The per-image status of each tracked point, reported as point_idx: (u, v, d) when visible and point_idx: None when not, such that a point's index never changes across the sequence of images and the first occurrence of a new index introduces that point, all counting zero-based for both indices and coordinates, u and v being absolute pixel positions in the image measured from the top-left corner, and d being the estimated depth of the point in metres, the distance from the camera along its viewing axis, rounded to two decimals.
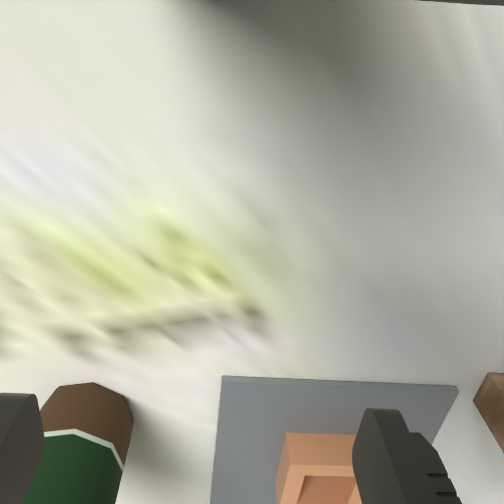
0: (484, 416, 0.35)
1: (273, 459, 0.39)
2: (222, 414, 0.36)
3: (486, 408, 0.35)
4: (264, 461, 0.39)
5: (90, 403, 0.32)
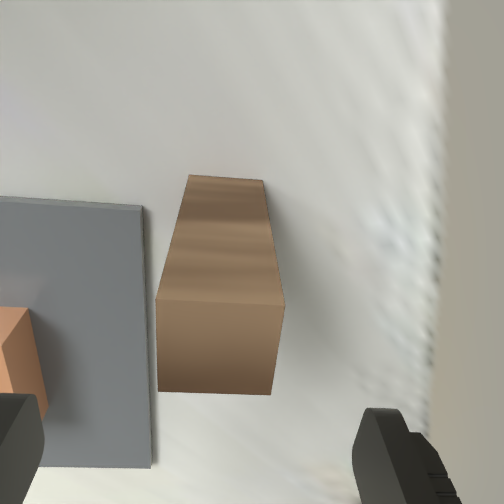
0: None
1: None
2: None
3: None
4: None
5: None
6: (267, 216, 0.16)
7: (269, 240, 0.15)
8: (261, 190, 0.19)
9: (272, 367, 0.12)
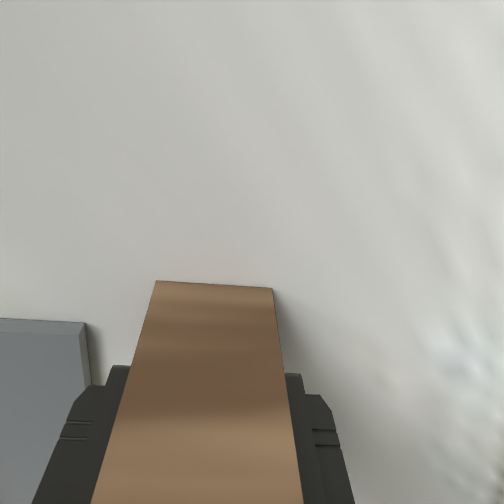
0: None
1: None
2: None
3: None
4: None
5: None
6: (285, 394, 0.09)
7: (293, 484, 0.07)
8: (271, 315, 0.12)
9: None
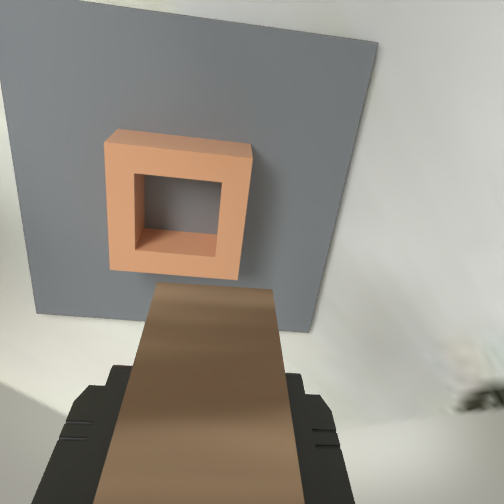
0: None
1: None
2: (5, 76, 0.22)
3: None
4: (96, 198, 0.26)
5: None
6: (285, 395, 0.09)
7: (294, 485, 0.07)
8: (272, 316, 0.12)
9: None
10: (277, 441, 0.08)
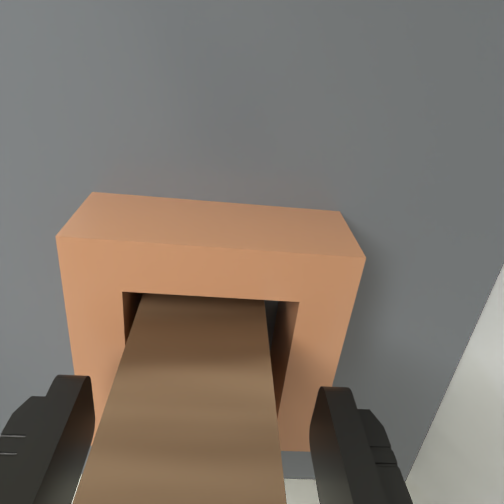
0: None
1: None
2: None
3: None
4: (60, 308, 0.15)
5: None
6: (267, 347, 0.10)
7: (270, 414, 0.09)
8: None
9: None
10: (257, 382, 0.09)
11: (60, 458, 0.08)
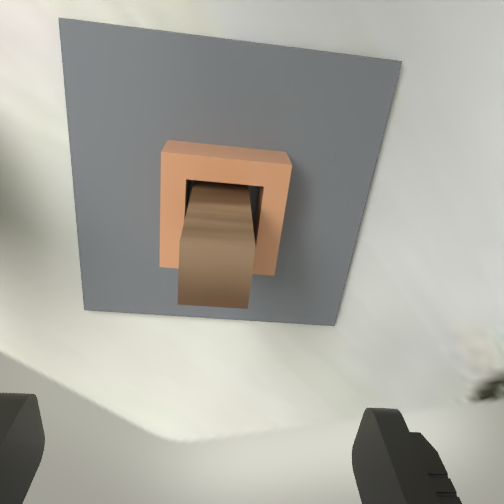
0: None
1: (157, 198, 0.28)
2: (70, 94, 0.25)
3: None
4: (145, 203, 0.29)
5: None
6: (249, 201, 0.24)
7: (249, 215, 0.23)
8: (246, 186, 0.27)
9: (248, 289, 0.20)
10: (244, 208, 0.23)
11: None
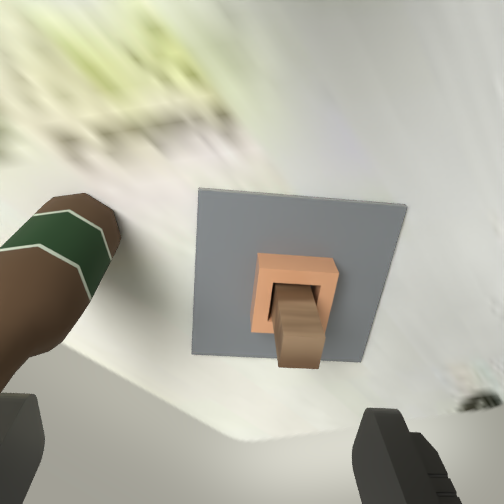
0: (271, 308, 0.43)
1: (247, 286, 0.44)
2: (199, 229, 0.40)
3: (271, 301, 0.43)
4: (239, 288, 0.44)
5: (83, 201, 0.37)
6: (313, 297, 0.40)
7: (316, 310, 0.38)
8: None
9: (319, 358, 0.36)
10: (312, 304, 0.39)
11: None
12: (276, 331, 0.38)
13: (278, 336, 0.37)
